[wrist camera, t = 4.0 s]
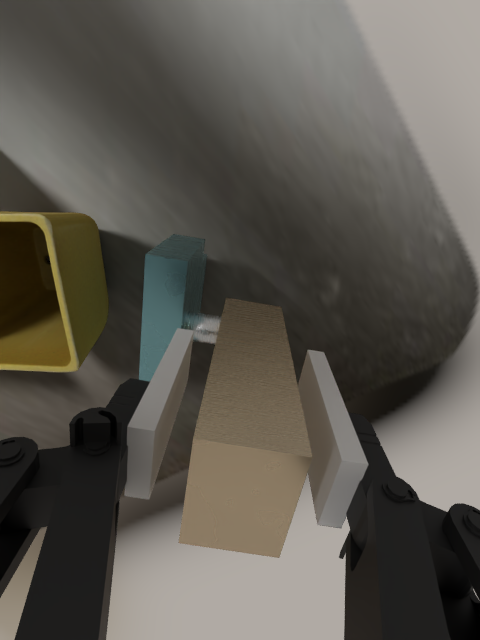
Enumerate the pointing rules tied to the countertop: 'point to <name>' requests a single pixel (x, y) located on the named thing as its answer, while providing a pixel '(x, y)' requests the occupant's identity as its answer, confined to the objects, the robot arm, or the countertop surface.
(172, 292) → the rod
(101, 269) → the flower pot
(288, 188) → the countertop surface
